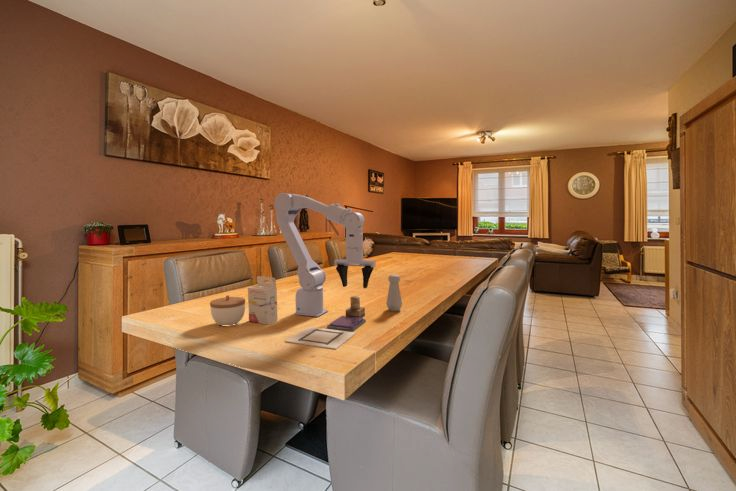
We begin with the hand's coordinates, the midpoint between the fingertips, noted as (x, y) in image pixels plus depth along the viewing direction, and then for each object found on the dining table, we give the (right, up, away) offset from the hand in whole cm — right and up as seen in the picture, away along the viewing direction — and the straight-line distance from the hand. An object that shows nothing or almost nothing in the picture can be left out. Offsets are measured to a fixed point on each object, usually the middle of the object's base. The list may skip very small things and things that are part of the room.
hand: (355, 287), depth 120 cm
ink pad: (-2, -11, -8) cm, 14 cm away
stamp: (0, -11, +1) cm, 11 cm away
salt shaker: (+14, -10, +9) cm, 19 cm away
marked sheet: (-9, -12, -19) cm, 24 cm away
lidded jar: (-41, -12, -5) cm, 43 cm away
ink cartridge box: (-31, -11, -3) cm, 33 cm away
